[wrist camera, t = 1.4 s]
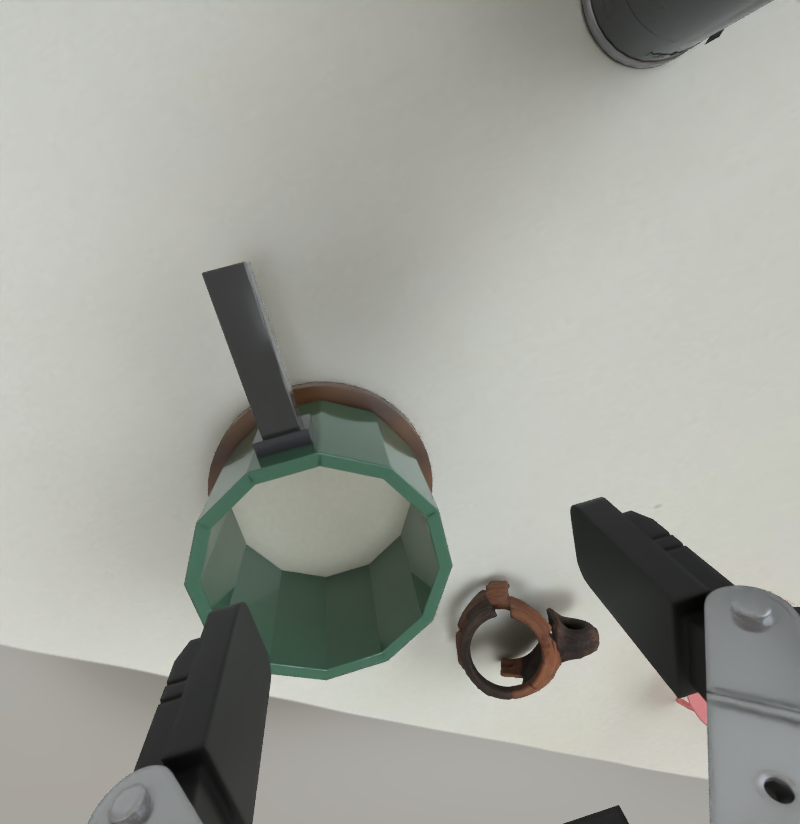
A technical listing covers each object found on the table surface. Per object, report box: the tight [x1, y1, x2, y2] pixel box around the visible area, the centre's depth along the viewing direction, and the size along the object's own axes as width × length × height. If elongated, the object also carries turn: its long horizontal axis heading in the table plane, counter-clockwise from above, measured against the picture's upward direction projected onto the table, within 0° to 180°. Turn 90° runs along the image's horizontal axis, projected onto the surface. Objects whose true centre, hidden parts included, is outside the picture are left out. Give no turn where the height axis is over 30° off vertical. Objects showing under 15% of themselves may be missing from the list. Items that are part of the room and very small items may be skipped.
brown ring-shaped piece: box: [456, 581, 599, 700], centre depth 43 cm, size 12×10×8 cm
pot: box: [184, 262, 452, 680], centre depth 31 cm, size 25×15×10 cm, turn 14°
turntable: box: [208, 382, 432, 497], centre depth 38 cm, size 17×17×1 cm
